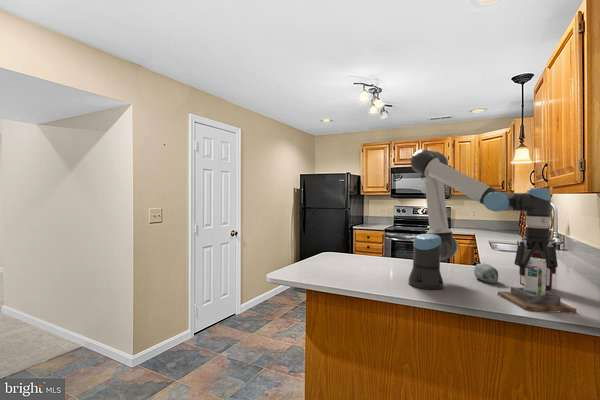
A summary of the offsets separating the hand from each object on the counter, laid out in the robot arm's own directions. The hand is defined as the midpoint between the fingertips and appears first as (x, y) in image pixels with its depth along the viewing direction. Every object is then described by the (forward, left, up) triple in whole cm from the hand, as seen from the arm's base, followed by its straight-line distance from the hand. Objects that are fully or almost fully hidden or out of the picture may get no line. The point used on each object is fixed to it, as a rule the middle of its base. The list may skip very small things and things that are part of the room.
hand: (534, 284), depth 123 cm
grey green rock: (-2, +32, -8) cm, 33 cm away
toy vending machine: (+18, +24, -8) cm, 31 cm away
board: (0, 0, -8) cm, 8 cm away
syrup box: (0, 0, -4) cm, 4 cm away
